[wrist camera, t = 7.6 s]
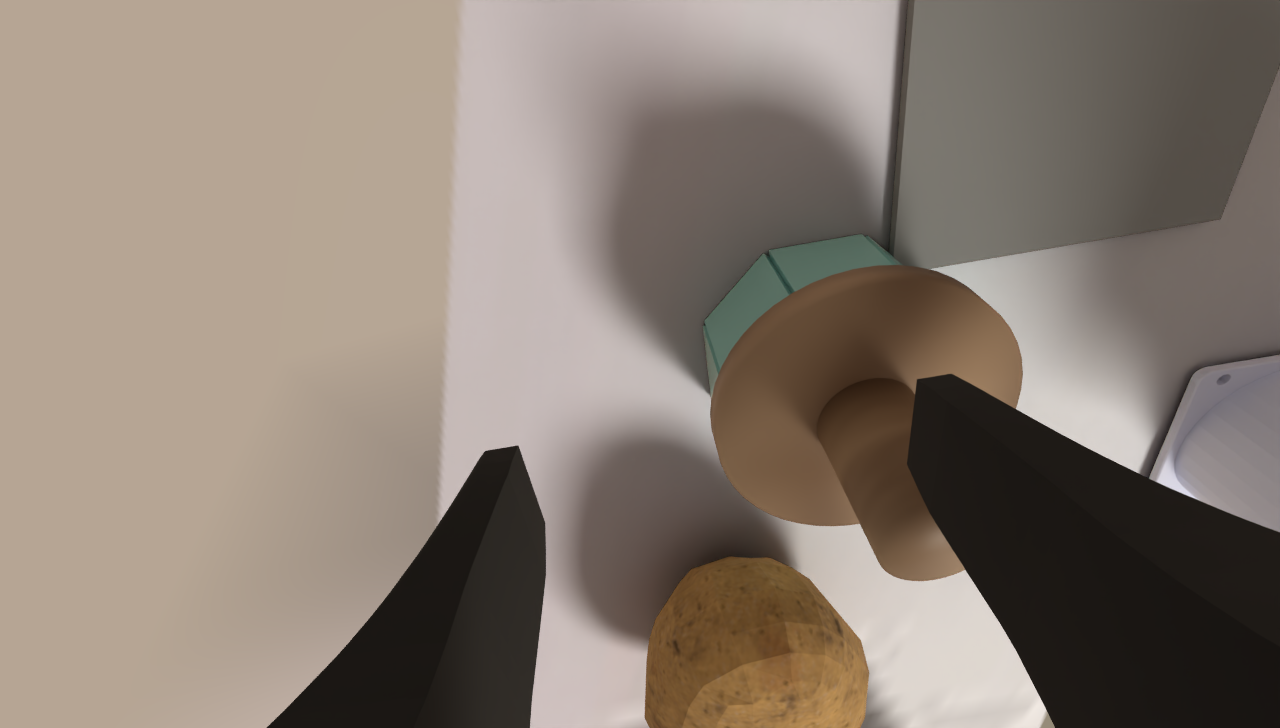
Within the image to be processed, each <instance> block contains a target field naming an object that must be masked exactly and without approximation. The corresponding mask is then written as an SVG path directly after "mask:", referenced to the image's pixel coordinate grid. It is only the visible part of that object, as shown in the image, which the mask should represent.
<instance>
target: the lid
mask: <svg viewBox="0 0 1280 728" xmlns="http://www.w3.org/2000/svg"><path fill="white" fill-rule="evenodd" d="M946 374H953V375H955V376H957V377H959V378H961V379H963V380H965V381H967V382H969V383H970V384H972V385H974V386H976V387H978V388H979V389H981V390H983V391H985V392H986V393H988V394H990V395H992V396H994V397H995V398H997V399H999V400H1001V401H1002V402H1004V403H1006V404H1008V405H1009V406H1011V407H1013V408H1015V409H1016V406H1017V403H1018V399H1019V395H1020V392H1021V385H1022V375H1023V371H1022V358H1021V354H1020V350H1019V346H1018V343H1017V340H1016V338H1015V336H1014V334H1013V332H1012V330H1011V328H1010V327H1009V326H1008V324H1007V323H1006V322H1005V320H1004V319H1003V318H1002V316H1001V315H1000V314H999V313H997V312H996V311H995V310H994V309H993V308H992V307H991V306H990V305H988V304H987V303H986V302H985V301H984V300H983V299H981V298H980V297H979V296H978V295H977V294H976V293H974V292H973V291H972V290H971V289H970V288H969V287H967V286H965V285H964V284H962V283H961V282H959V281H957V280H956V279H954V278H952V277H949V276H947V275H944V274H942V273H939V272H937V271H933V270H929V269H925V268H920V267H914V266H904V265H878V266H870V267H863V268H857V269H852V270H848V271H845V272H841V273H837V274H834V275H831V276H828V277H826V278H823V279H821V280H818V281H815V282H813V283H811V284H809V285H807V286H805V287H803V288H801V289H799V290H797V291H795V292H793V293H792V294H790V295H789V296H787V297H786V298H784V299H783V300H781V301H780V302H778V303H777V304H775V305H774V306H772V307H771V308H770V309H769V310H767V311H766V312H765V313H764V314H763V315H762V316H760V317H759V318H758V319H757V320H756V321H755V322H754V323H753V324H752V325H751V326H750V327H749V328H748V329H747V330H746V331H745V332H744V333H743V335H742V336H741V337H740V339H739V340H738V341H737V343H736V344H735V345H734V347H733V348H732V349H731V351H730V353H729V354H728V356H727V358H726V360H725V361H724V363H723V365H722V367H721V369H720V372H719V374H718V377H717V379H716V382H715V386H714V390H713V394H712V398H711V411H710V417H711V428H712V432H713V436H714V440H715V444H716V448H717V451H718V455H719V459H720V462H721V465H722V467H723V470H724V472H725V474H726V476H727V478H728V479H729V481H730V482H731V483H732V485H733V486H734V488H735V489H736V490H737V491H738V492H739V493H740V494H741V495H742V496H743V497H744V498H745V499H746V500H748V501H749V502H750V503H752V504H753V505H754V506H756V507H757V508H759V509H761V510H763V511H765V512H767V513H769V514H771V515H773V516H776V517H779V518H781V519H784V520H788V521H792V522H796V523H801V524H808V525H815V526H843V525H853V524H860V525H861V527H862V529H863V531H864V533H865V535H866V537H867V539H868V541H869V543H870V545H871V547H872V549H873V551H874V553H875V555H876V558H877V560H878V562H879V563H880V565H881V567H882V568H883V569H884V570H885V571H886V572H888V573H889V574H891V575H893V576H895V577H897V578H900V579H904V580H911V581H928V580H935V579H940V578H944V577H947V576H951V575H954V574H956V573H959V572H961V571H963V570H965V568H964V567H963V565H962V564H961V562H960V560H959V559H958V557H957V556H956V554H955V553H954V551H953V550H952V548H951V546H950V545H949V543H948V542H947V540H946V539H945V537H944V535H943V534H942V532H941V531H940V529H939V528H938V526H937V524H936V523H935V521H934V519H933V518H932V516H931V515H930V513H929V511H928V509H927V507H926V505H925V503H924V501H923V498H922V496H921V494H920V492H919V490H918V488H917V486H916V484H915V481H914V479H913V477H912V475H911V472H910V470H909V468H908V466H907V459H908V450H909V442H910V433H911V425H912V416H913V408H914V400H915V391H916V383H917V379H922V378H928V377H934V376H940V375H946Z"/></svg>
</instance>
